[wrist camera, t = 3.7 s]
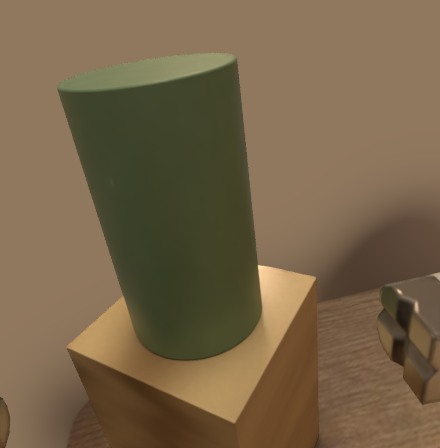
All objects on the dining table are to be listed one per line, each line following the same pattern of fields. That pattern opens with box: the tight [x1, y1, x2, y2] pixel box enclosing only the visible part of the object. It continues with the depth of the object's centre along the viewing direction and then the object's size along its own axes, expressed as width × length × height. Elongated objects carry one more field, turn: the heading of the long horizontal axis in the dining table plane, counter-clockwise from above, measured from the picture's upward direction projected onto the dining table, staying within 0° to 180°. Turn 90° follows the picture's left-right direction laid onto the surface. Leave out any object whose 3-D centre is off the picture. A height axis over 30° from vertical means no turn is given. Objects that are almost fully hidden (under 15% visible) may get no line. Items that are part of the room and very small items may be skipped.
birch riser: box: [67, 265, 319, 448], centre depth 20 cm, size 8×8×12 cm
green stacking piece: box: [57, 53, 262, 360], centre depth 15 cm, size 6×6×10 cm
